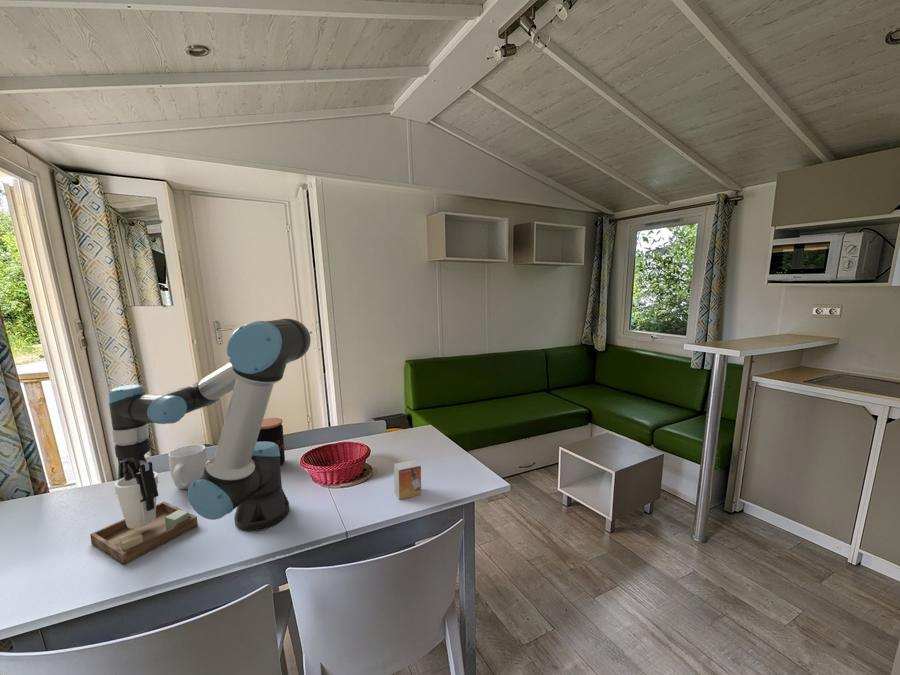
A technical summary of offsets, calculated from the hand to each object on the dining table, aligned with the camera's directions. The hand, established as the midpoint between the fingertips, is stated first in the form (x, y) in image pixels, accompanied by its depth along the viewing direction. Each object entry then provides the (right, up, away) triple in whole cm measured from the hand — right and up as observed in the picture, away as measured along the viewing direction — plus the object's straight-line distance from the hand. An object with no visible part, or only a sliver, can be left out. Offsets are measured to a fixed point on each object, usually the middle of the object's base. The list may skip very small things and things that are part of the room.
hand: (140, 514), depth 107 cm
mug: (-5, -3, +26) cm, 27 cm away
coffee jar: (+17, 0, +42) cm, 46 cm away
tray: (+2, -6, 0) cm, 6 cm away
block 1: (+4, -6, -8) cm, 11 cm away
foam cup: (0, -2, 0) cm, 2 cm away
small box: (+75, -3, +21) cm, 77 cm away
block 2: (+9, -5, +2) cm, 11 cm away
